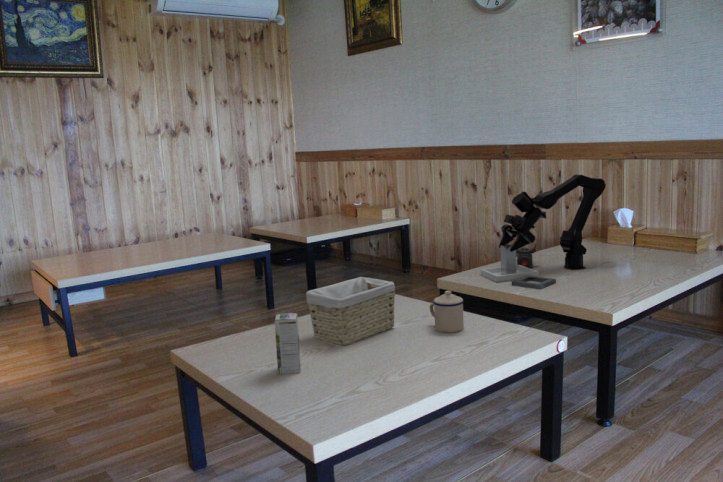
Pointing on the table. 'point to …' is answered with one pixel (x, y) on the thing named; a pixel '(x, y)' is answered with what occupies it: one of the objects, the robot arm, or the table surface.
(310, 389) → the table surface
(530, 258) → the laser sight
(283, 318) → the syrup box
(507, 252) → the grey rectangular block
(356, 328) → the storage basket
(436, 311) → the teacup with lid
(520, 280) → the dark grey square frame
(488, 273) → the parts tray
